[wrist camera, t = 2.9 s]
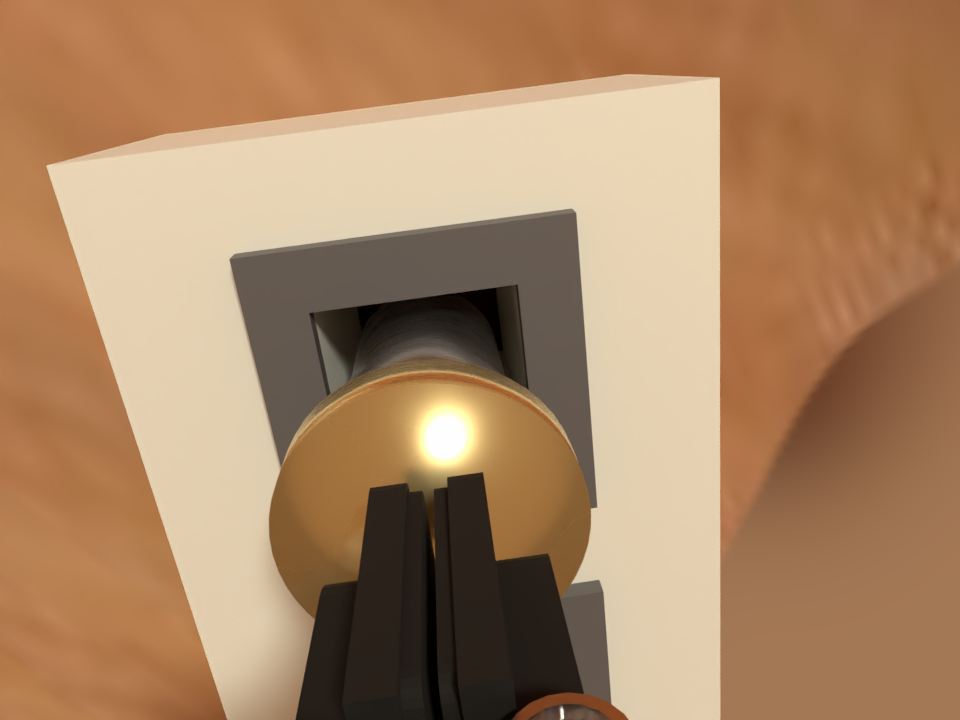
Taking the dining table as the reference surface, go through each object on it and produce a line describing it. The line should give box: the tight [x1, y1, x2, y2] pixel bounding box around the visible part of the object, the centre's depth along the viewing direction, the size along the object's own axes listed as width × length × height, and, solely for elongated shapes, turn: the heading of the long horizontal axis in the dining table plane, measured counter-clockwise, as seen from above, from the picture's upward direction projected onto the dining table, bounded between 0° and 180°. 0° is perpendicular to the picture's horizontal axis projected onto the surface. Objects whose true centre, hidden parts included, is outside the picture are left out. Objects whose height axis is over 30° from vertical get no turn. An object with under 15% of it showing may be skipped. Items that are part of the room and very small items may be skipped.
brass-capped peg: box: [269, 293, 591, 619], centre depth 16 cm, size 5×5×8 cm
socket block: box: [47, 74, 720, 720], centre depth 23 cm, size 22×14×8 cm, turn 7°
